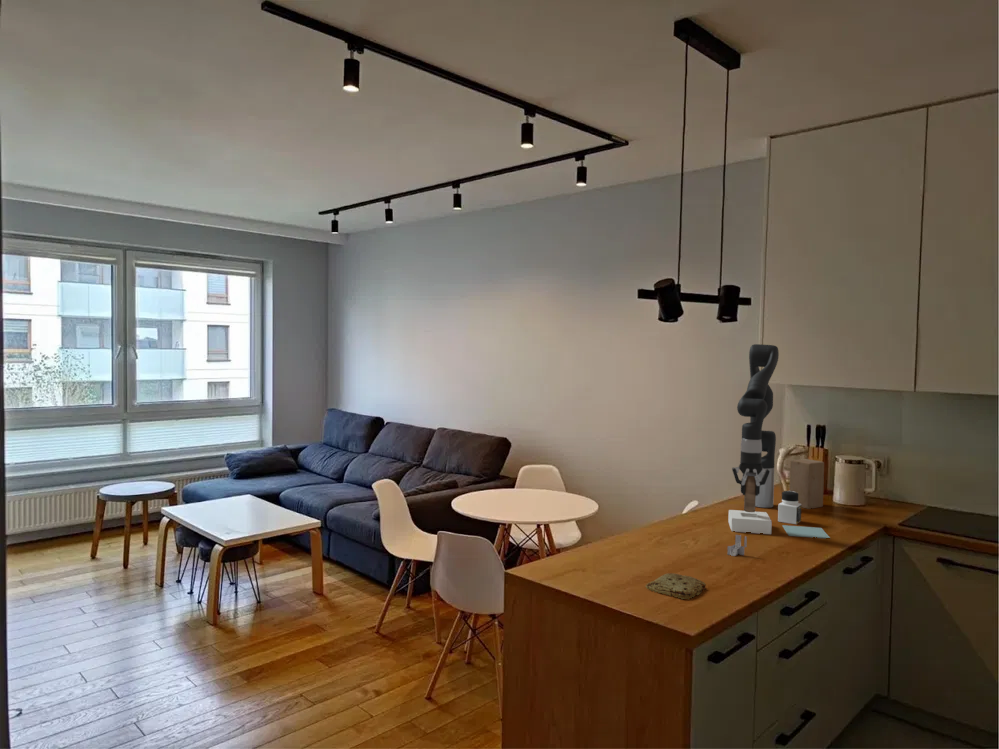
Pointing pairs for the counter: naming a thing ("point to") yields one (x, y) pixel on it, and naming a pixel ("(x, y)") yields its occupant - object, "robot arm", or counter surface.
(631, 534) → the counter surface
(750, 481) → the pin
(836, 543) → the counter surface
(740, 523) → the eye block
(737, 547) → the grey upright blocky piece
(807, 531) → the mat
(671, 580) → the pastry
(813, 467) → the wooden block
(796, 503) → the medicine bottle
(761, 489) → the robot arm
